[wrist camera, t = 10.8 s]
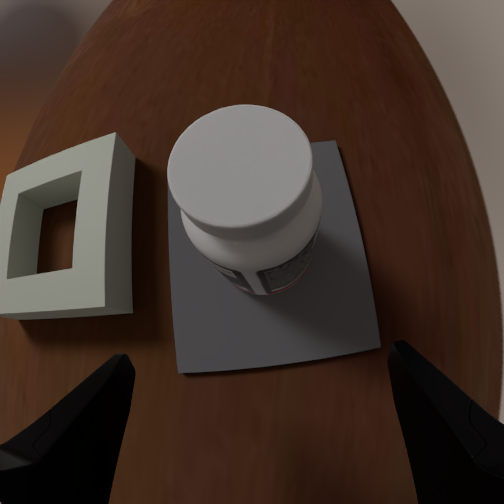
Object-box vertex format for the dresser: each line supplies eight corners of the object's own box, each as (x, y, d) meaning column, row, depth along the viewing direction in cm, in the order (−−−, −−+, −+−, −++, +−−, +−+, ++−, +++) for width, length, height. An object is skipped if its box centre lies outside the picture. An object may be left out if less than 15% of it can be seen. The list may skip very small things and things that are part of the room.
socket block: (133, 313, 19) (104, 306, 16) (17, 319, 20) (-12, 314, 17) (135, 157, 23) (115, 132, 19) (30, 191, 23) (7, 175, 20)
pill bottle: (307, 203, 19) (319, 88, 10) (315, 293, 18) (346, 239, 8) (217, 209, 20) (163, 105, 10) (217, 298, 18) (144, 252, 9)
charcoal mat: (378, 347, 17) (381, 347, 16) (180, 372, 18) (178, 373, 17) (334, 144, 21) (335, 140, 20) (170, 170, 22) (168, 166, 21)
